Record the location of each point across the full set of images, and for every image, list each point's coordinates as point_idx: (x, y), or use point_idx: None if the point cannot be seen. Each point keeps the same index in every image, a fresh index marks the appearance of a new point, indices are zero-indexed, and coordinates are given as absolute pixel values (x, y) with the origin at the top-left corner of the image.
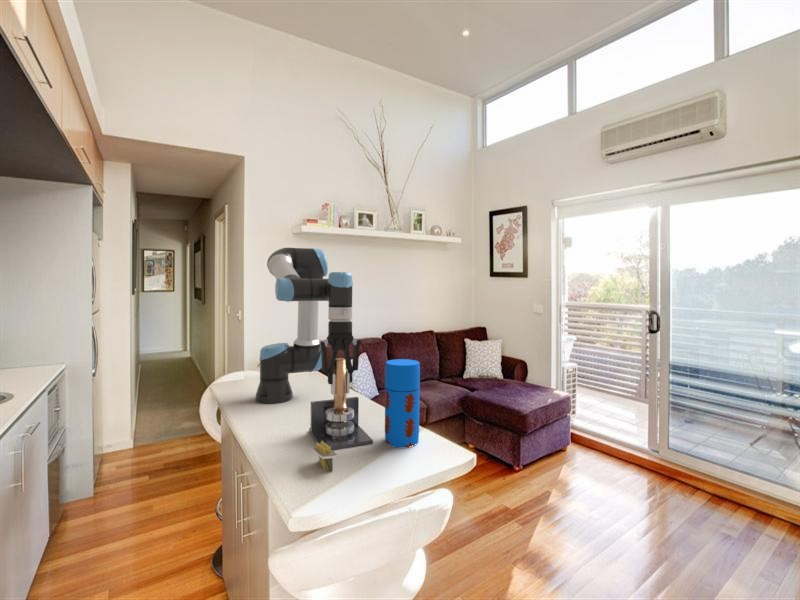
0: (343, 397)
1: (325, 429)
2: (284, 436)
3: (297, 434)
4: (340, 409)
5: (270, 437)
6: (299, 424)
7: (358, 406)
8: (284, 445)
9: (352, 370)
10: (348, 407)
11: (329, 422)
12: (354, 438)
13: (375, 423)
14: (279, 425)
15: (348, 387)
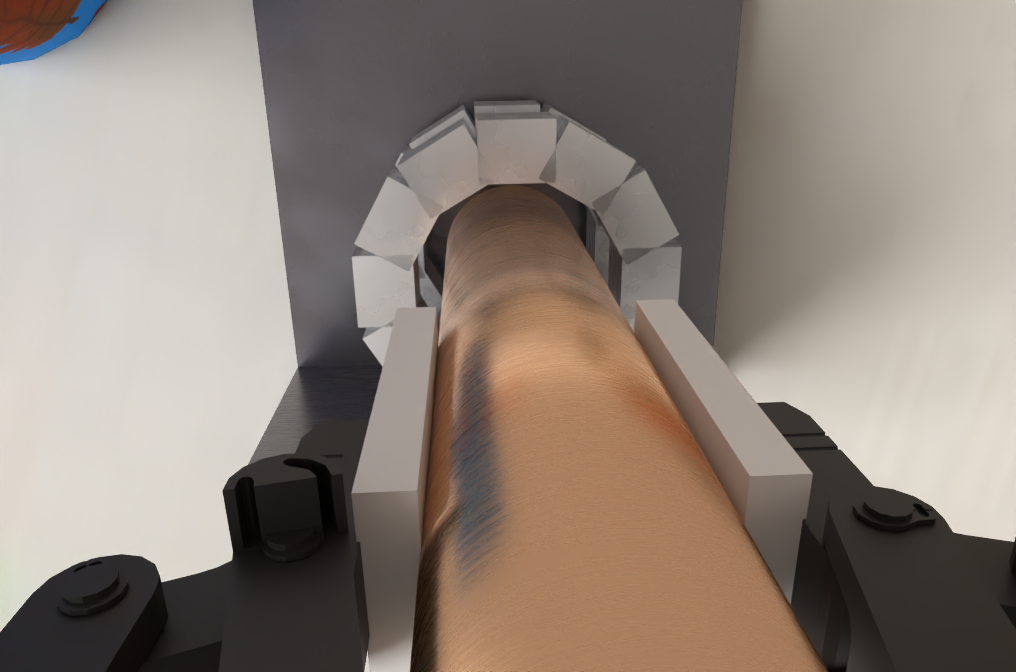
0: (504, 262)
1: None
2: (896, 382)
3: (798, 389)
4: (537, 216)
5: (990, 397)
6: None
7: (254, 452)
8: (955, 203)
9: (244, 550)
10: None
11: None
12: (408, 62)
13: (130, 415)
14: None
15: (407, 346)
